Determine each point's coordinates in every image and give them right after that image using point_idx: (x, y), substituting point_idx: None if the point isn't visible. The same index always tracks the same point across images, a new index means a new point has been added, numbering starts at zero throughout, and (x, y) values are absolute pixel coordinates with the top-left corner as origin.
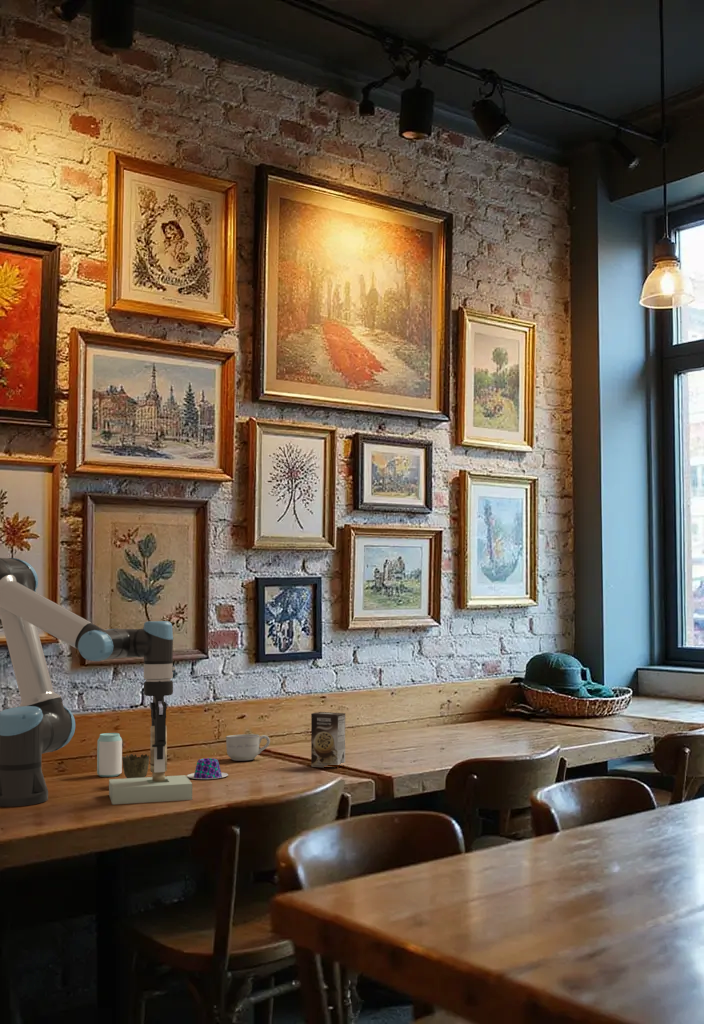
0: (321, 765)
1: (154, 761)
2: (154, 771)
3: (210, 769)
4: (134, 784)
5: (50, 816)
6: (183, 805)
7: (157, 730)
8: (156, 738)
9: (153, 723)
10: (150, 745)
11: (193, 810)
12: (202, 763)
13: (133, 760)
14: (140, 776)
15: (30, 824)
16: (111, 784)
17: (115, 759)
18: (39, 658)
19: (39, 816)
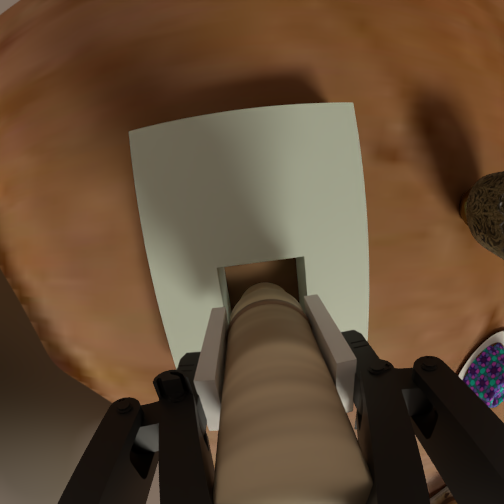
0: (444, 489)
1: (205, 333)
2: (211, 310)
3: (475, 392)
4: (199, 211)
5: (50, 31)
6: (117, 348)
7: (78, 477)
8: (97, 429)
9: (377, 498)
10: (278, 357)
11: (65, 360)
12: (493, 383)
13: None
14: (468, 225)
15: (4, 33)
16: (219, 114)
17: None
18: None
19: (59, 10)
